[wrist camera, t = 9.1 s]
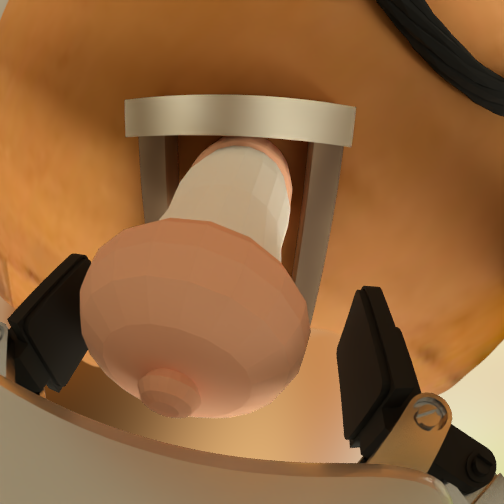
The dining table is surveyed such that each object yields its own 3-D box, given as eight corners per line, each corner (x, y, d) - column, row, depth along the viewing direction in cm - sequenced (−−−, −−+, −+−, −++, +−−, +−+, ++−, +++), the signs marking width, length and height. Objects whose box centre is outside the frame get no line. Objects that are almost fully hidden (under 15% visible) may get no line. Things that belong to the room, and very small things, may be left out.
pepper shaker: (182, 192, 24) (38, 390, 7) (227, 115, 20) (39, 208, 4) (257, 236, 25) (227, 474, 8) (308, 165, 22) (393, 390, 5)
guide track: (338, 104, 19) (356, 107, 15) (299, 342, 31) (301, 378, 27) (154, 97, 20) (124, 99, 15) (173, 330, 32) (161, 363, 27)
